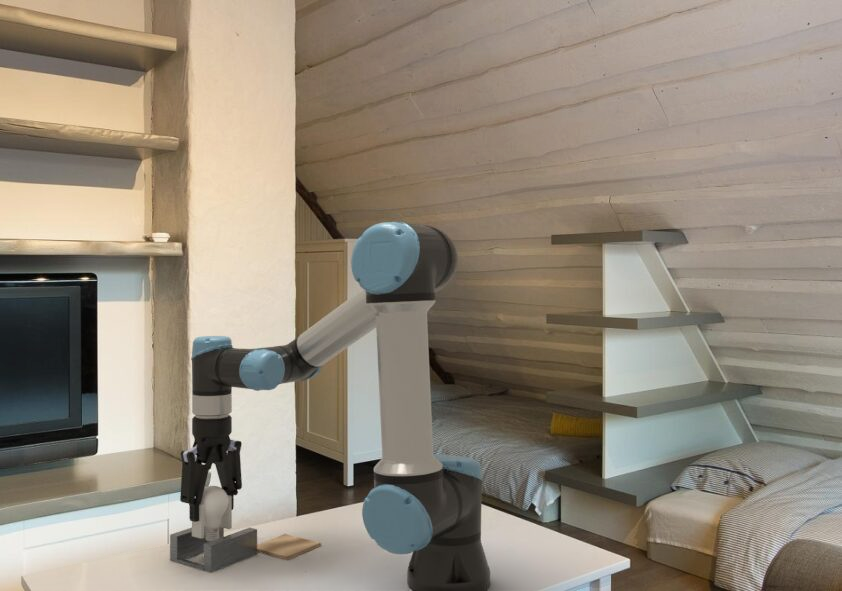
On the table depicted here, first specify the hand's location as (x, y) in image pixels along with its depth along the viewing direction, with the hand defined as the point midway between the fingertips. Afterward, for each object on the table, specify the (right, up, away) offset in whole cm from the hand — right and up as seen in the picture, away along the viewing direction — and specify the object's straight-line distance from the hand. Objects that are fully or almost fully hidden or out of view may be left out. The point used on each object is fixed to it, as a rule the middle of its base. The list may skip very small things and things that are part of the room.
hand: (212, 531), depth 157 cm
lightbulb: (0, -2, 0) cm, 2 cm away
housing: (0, -5, +1) cm, 5 cm away
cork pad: (+14, -5, +6) cm, 16 cm away
